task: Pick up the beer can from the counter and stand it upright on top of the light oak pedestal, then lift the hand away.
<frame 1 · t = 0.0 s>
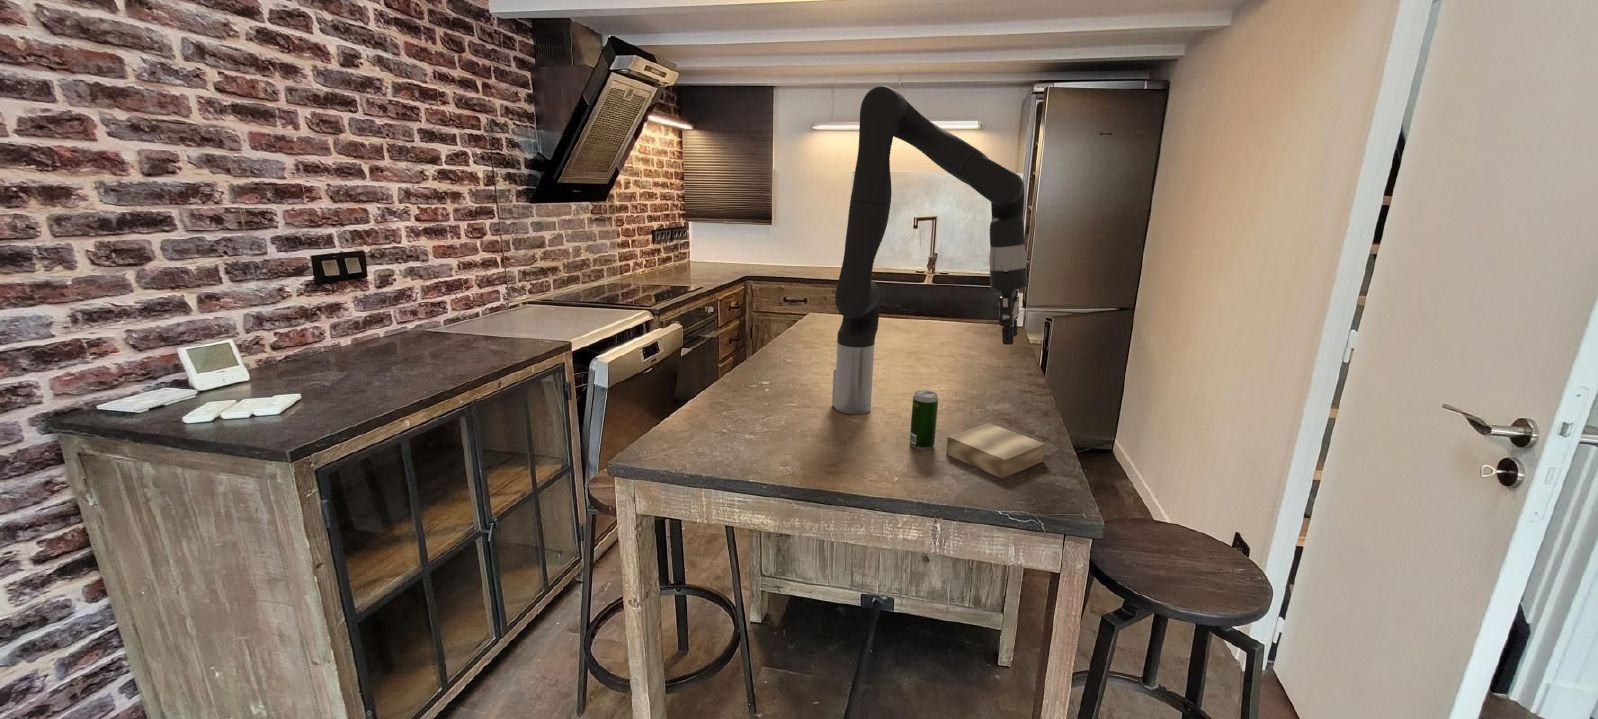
hand: (1010, 340, 136), 22 cm above the table, tool pointing down, fingers open, 8 cm apart
oak pedestal: (994, 457, 129), on the table
beer can: (921, 446, 135), on the table
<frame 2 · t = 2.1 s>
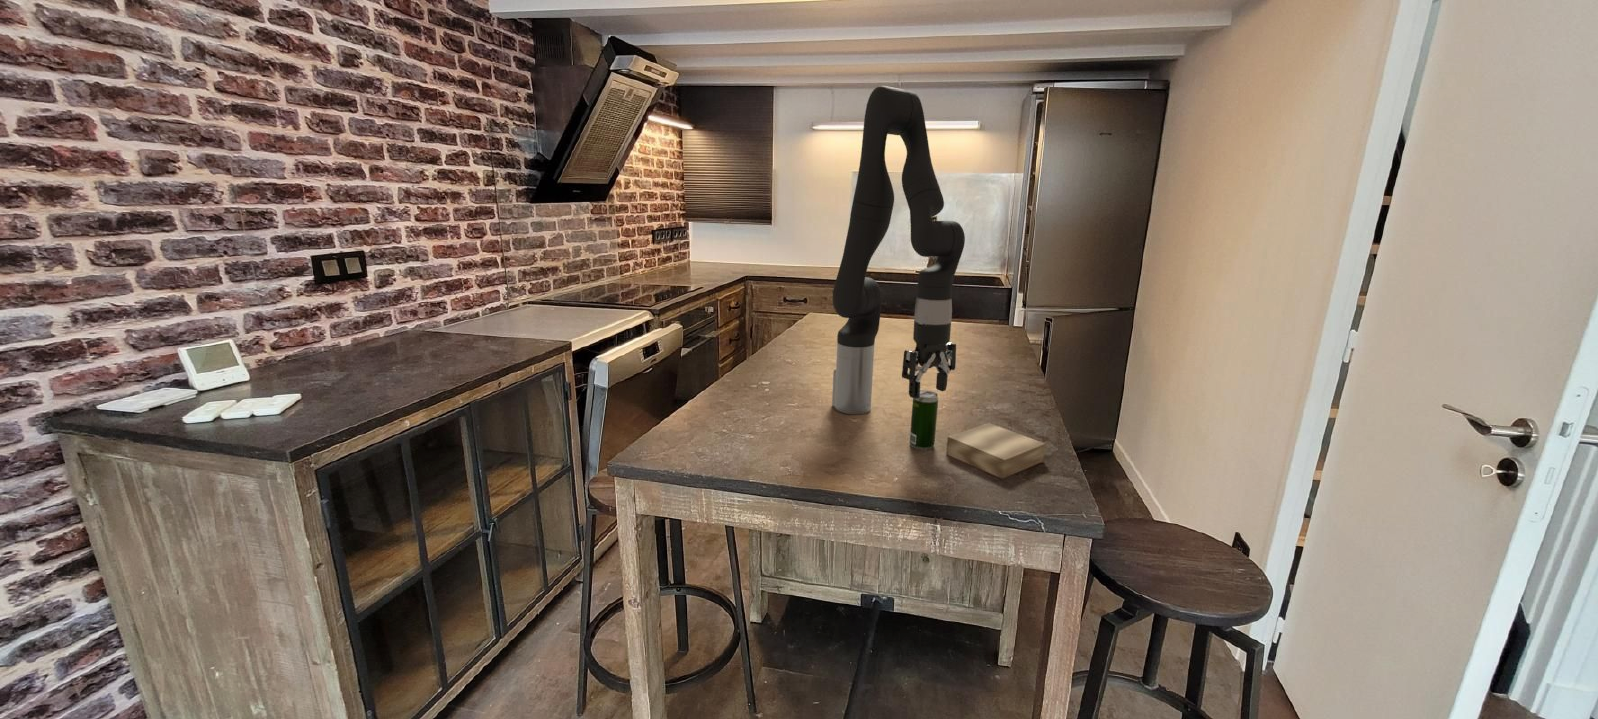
hand: (927, 393, 131), 12 cm above the table, tool pointing down, fingers open, 8 cm apart
nothing on the table moved.
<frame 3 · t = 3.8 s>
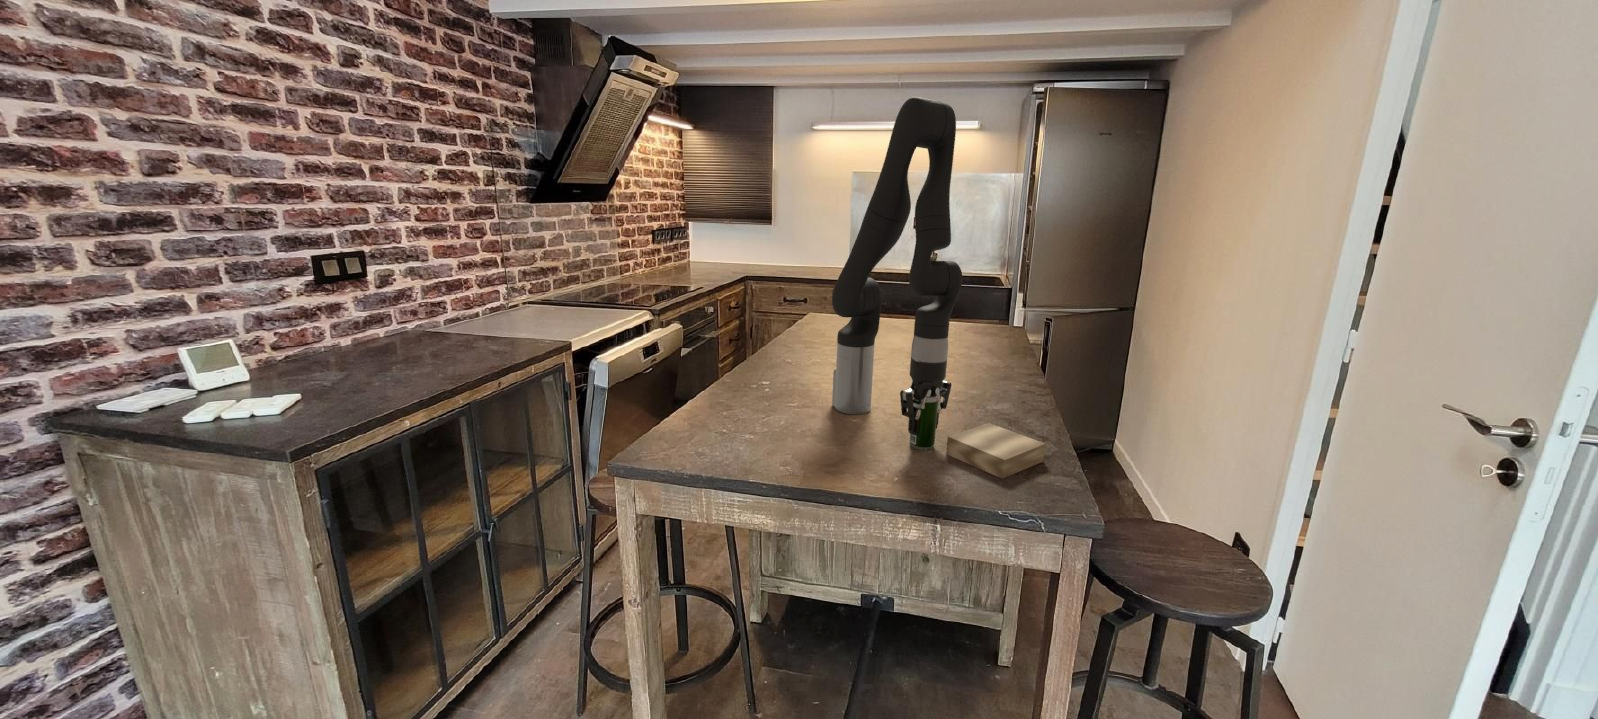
hand: (922, 430, 134), 3 cm above the table, tool pointing down, fingers closed on beer can, 5 cm apart
beer can: (921, 446, 135), on the table, touching gripper
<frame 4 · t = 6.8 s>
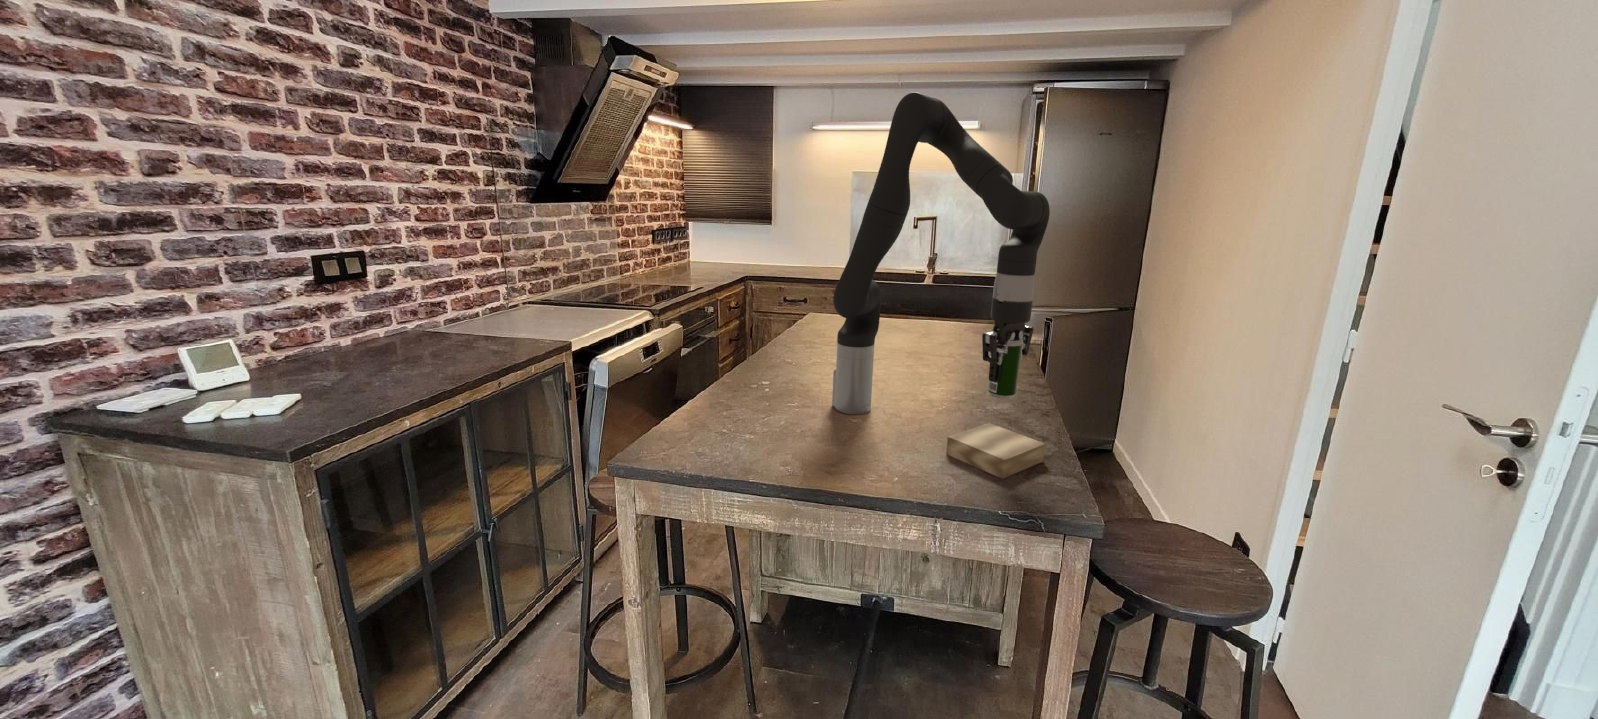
hand: (1003, 378, 125), 17 cm above the table, tool pointing down, fingers closed on beer can, 5 cm apart
beer can: (1001, 395, 126), point 14 cm above the table, touching gripper
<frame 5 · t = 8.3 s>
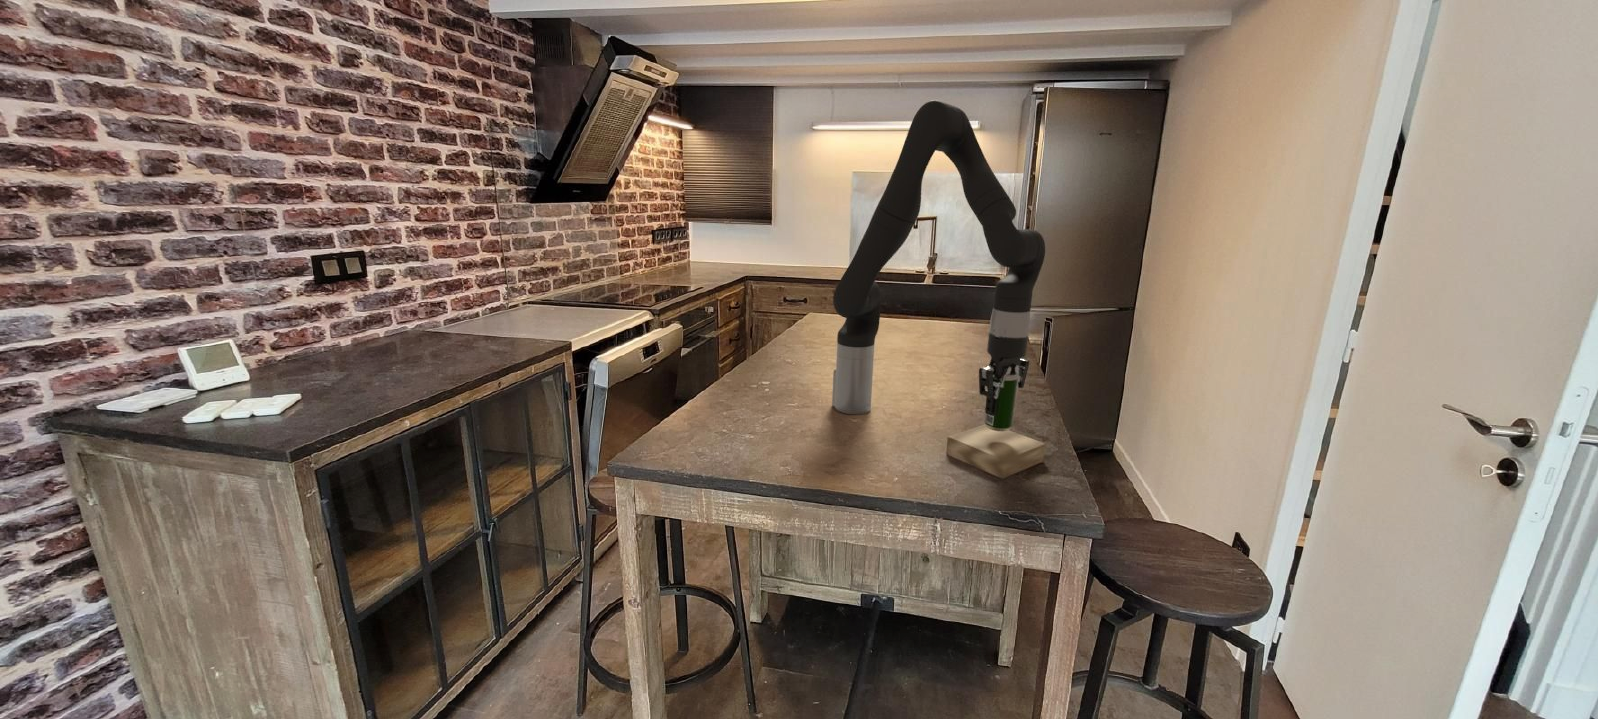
hand: (999, 411, 127), 10 cm above the table, tool pointing down, fingers closed on beer can, 5 cm apart
beer can: (997, 427, 128), point 7 cm above the table, touching gripper
when the fingers open (9 cm above the table, at t = 9.6 s): beer can drops 1 cm, resting on oak pedestal.
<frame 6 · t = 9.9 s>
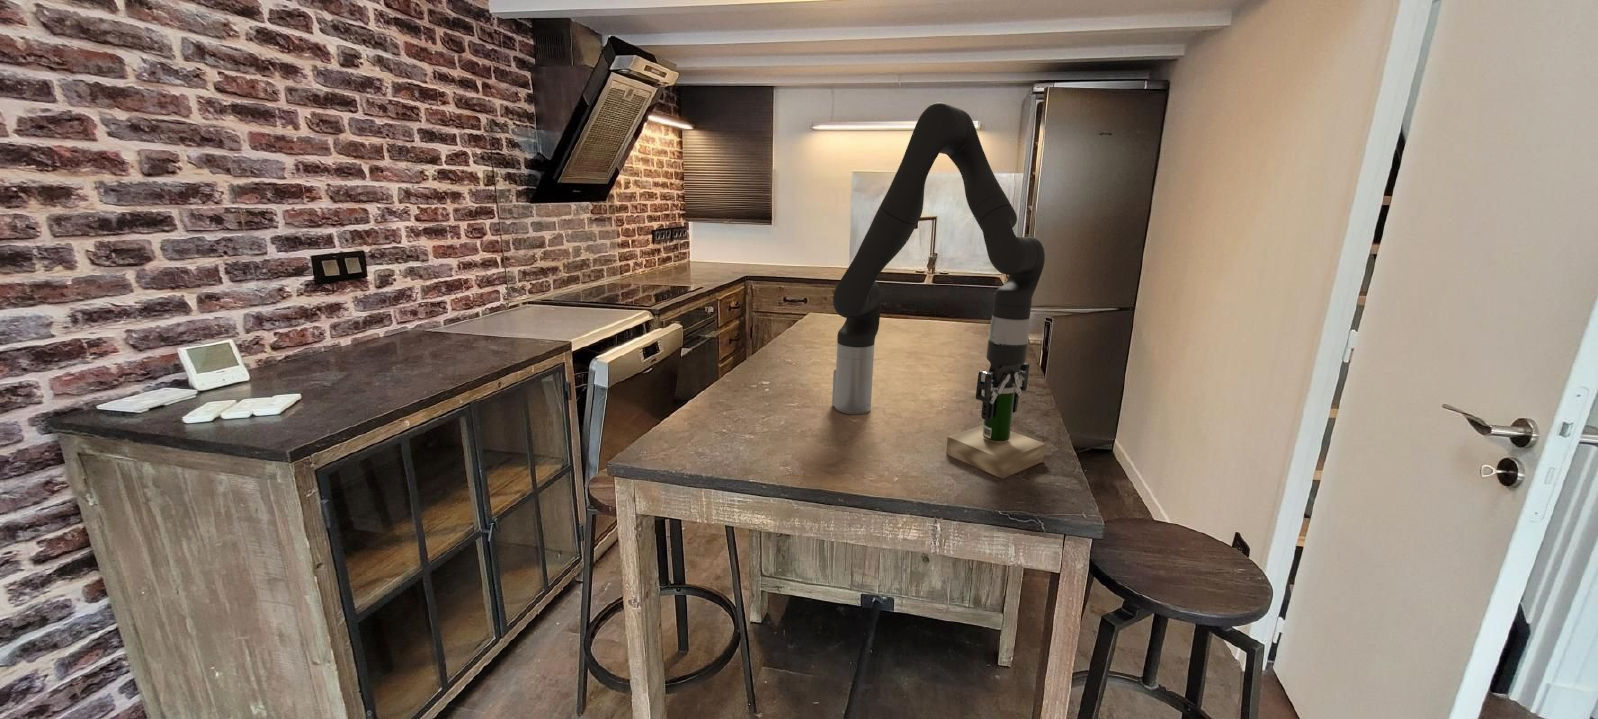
hand: (999, 415, 127), 9 cm above the table, tool pointing down, fingers open, 8 cm apart
beer can: (995, 440, 128), point 4 cm above the table, touching oak pedestal
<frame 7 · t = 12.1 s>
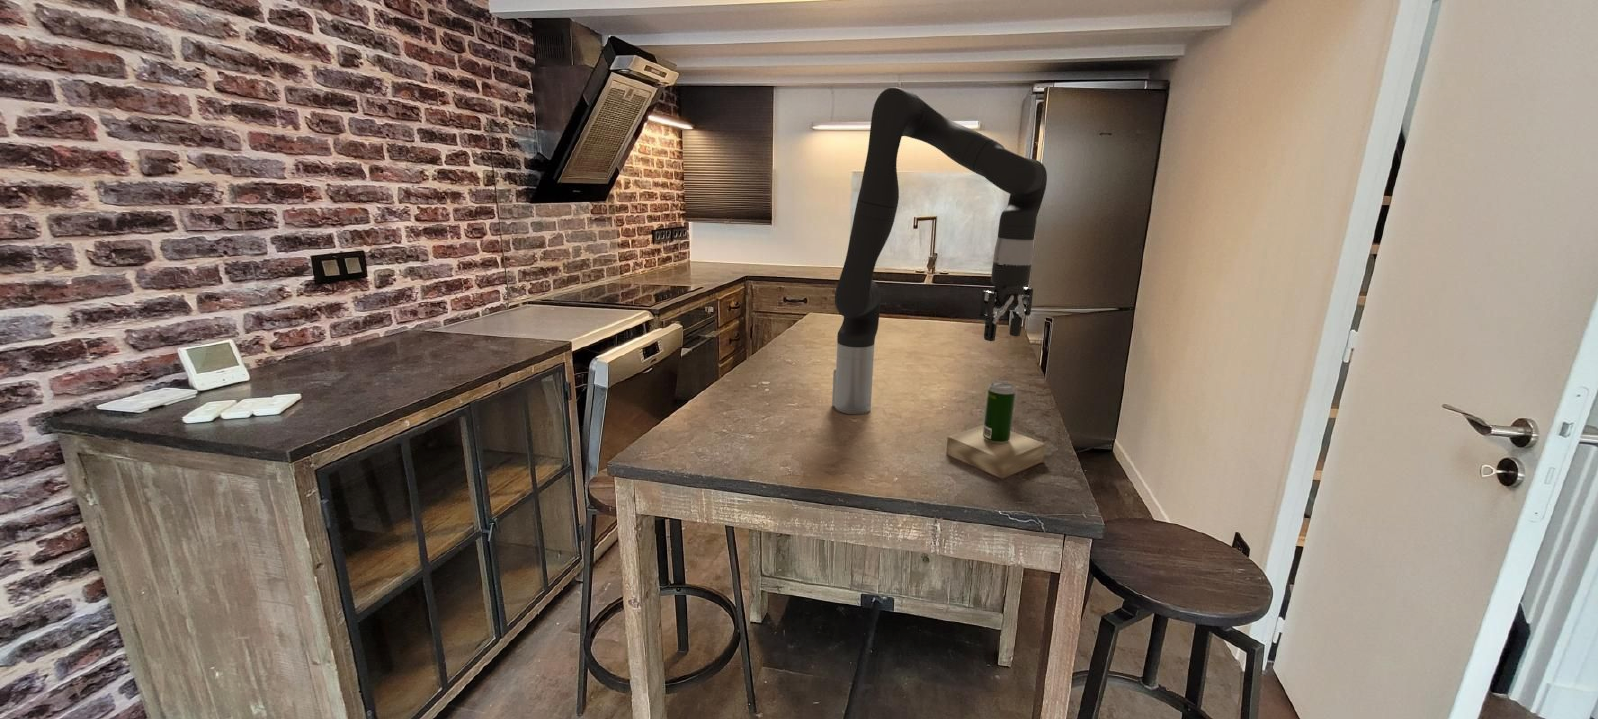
hand: (1002, 338, 130), 24 cm above the table, tool pointing down, fingers open, 8 cm apart
nothing on the table moved.
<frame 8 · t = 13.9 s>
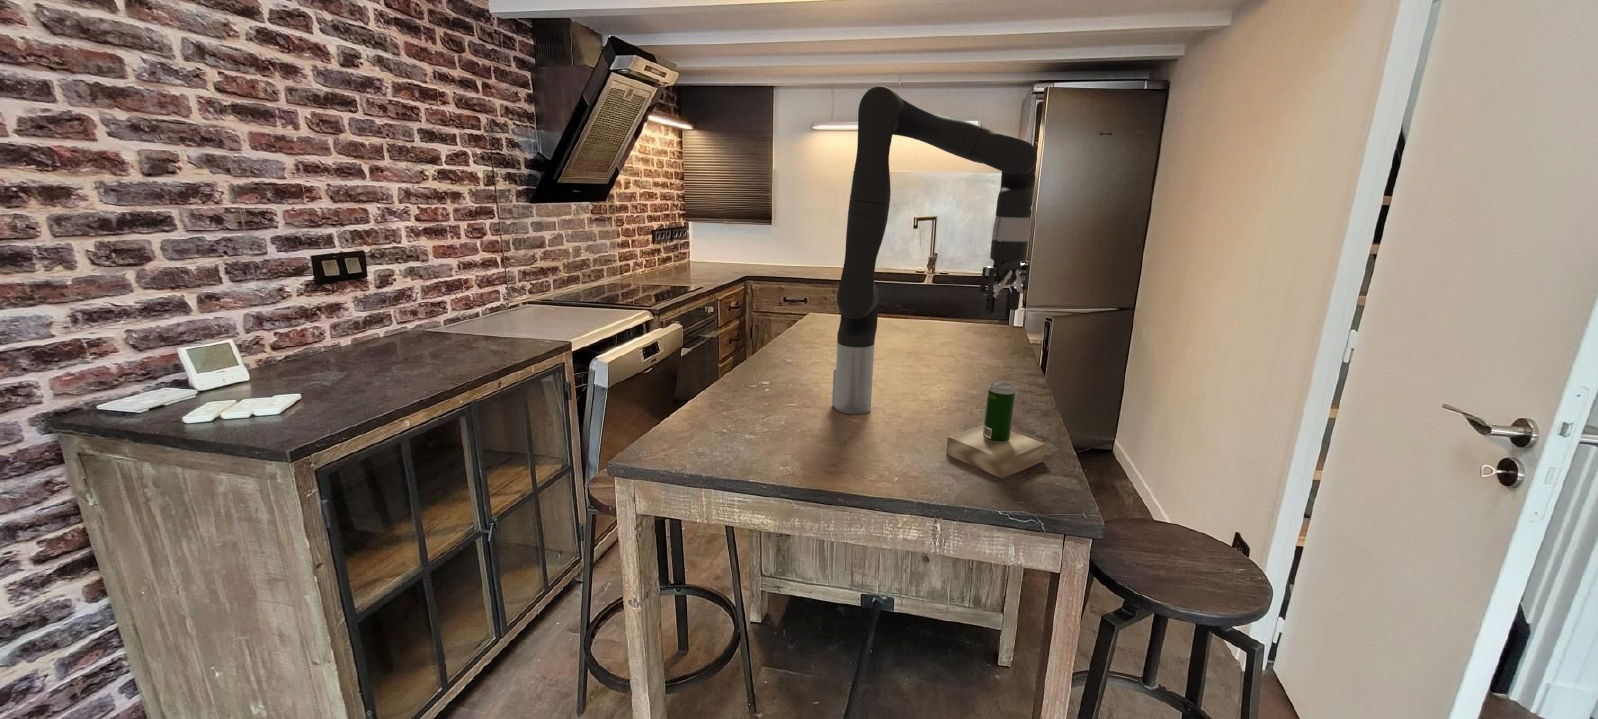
hand: (1001, 311, 138), 28 cm above the table, tool pointing down, fingers open, 8 cm apart
nothing on the table moved.
at the end: beer can inside the target area on the oak pedestal (0.1 cm from its centre), point 3.8 cm above the oak pedestal's base; beer can tilted 0°; the gripper is holding nothing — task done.
